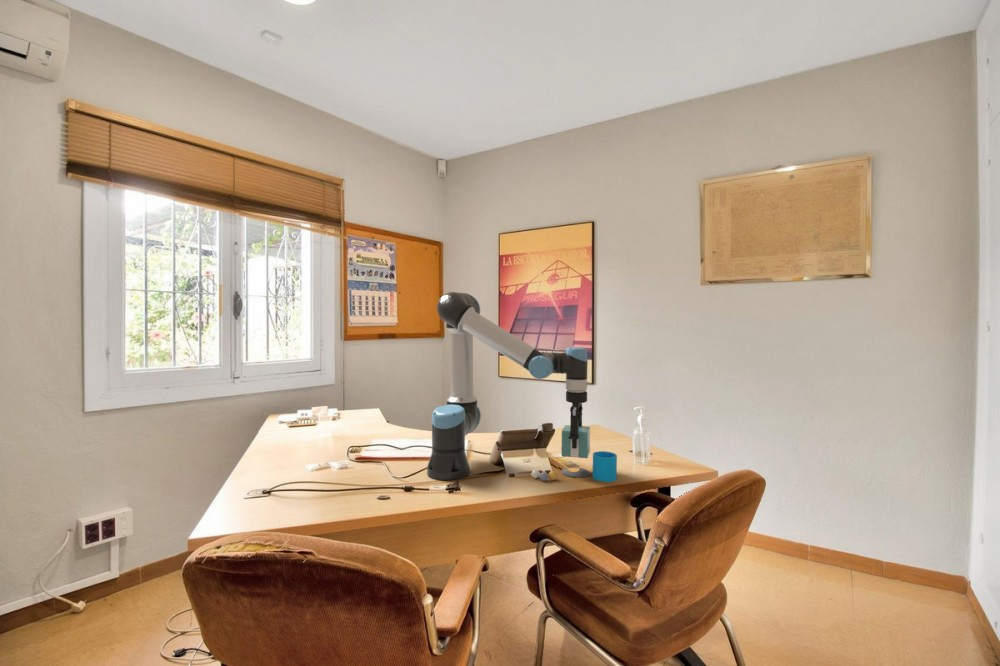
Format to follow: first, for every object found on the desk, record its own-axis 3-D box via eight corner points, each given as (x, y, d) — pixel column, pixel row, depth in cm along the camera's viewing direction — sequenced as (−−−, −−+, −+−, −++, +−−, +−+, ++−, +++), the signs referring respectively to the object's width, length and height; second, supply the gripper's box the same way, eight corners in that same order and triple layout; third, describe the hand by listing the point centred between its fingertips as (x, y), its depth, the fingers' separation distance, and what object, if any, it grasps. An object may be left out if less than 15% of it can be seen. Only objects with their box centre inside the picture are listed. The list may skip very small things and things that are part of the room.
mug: (619, 481, 159) (619, 458, 158) (595, 482, 158) (596, 458, 158) (609, 470, 171) (610, 448, 170) (587, 470, 170) (588, 448, 170)
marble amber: (547, 481, 160) (547, 474, 159) (549, 476, 162) (549, 468, 161) (556, 482, 159) (555, 475, 158) (558, 476, 161) (557, 469, 160)
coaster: (559, 476, 164) (559, 474, 164) (563, 467, 174) (563, 466, 173) (588, 479, 161) (588, 477, 161) (590, 469, 171) (590, 468, 171)
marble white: (543, 473, 162) (538, 480, 162) (536, 468, 164) (532, 476, 164) (539, 471, 160) (534, 479, 159) (532, 466, 162) (528, 474, 161)
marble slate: (538, 482, 159) (539, 475, 157) (540, 476, 161) (540, 469, 160) (547, 483, 158) (547, 476, 157) (549, 477, 161) (549, 470, 159)
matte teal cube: (561, 456, 164) (561, 430, 164) (565, 449, 173) (565, 425, 172) (587, 458, 161) (587, 432, 161) (589, 451, 170) (590, 426, 170)
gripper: (584, 396, 155) (583, 463, 156) (589, 386, 176) (589, 445, 176) (561, 395, 157) (561, 461, 158) (570, 385, 178) (569, 444, 178)
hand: (576, 453), depth 167 cm, fingers closed on matte teal cube, 9 cm apart
